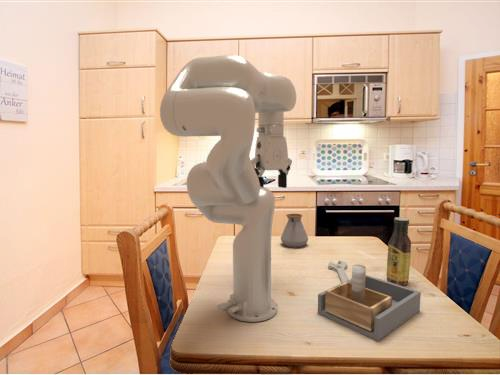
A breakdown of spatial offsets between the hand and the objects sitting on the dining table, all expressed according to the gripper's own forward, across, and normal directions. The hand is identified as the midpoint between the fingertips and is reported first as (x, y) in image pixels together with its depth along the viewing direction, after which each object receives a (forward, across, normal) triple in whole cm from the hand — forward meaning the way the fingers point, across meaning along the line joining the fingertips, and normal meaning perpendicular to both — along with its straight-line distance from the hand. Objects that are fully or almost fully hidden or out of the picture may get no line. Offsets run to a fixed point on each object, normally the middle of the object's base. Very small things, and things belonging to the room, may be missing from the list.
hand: (271, 188), depth 102 cm
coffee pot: (+29, +28, +16) cm, 43 cm away
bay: (+28, +3, -32) cm, 43 cm away
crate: (+27, -2, -32) cm, 42 cm away
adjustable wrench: (+29, +17, -14) cm, 36 cm away
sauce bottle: (+29, +26, -28) cm, 48 cm away
